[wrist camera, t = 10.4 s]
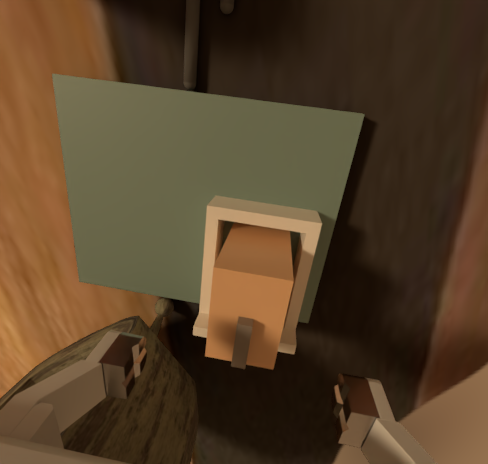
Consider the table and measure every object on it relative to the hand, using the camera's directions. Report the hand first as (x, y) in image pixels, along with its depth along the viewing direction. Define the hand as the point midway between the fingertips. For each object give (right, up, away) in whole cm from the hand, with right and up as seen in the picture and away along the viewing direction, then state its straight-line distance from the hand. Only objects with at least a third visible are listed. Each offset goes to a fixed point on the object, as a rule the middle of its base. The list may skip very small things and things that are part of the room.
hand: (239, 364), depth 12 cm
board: (-3, +7, +10) cm, 13 cm away
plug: (+1, +3, +10) cm, 10 cm away
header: (+1, +3, +10) cm, 10 cm away
